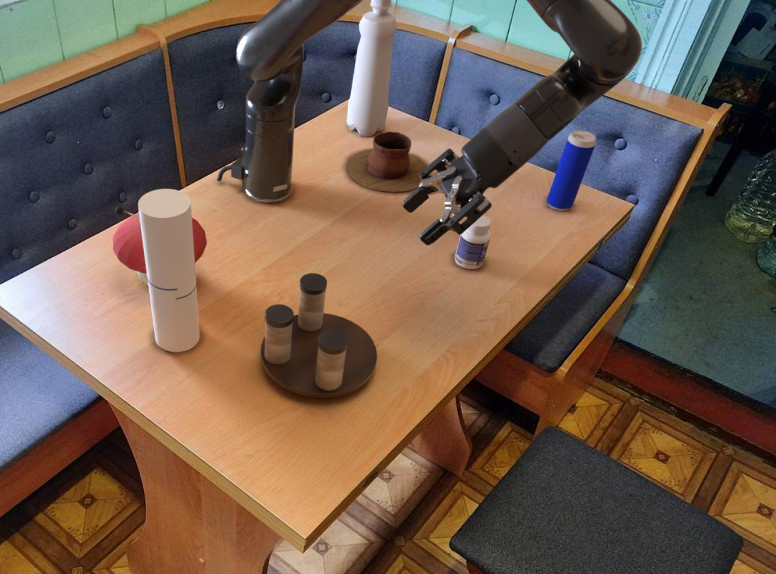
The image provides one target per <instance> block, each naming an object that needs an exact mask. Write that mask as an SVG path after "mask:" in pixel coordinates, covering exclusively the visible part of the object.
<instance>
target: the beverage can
mask: <svg viewBox="0 0 776 574" xmlns="http://www.w3.org/2000/svg"><path fill="white" fill-rule="evenodd" d="M596 144H597V136H596V135H595V134H594V133H592V132H590V131H587V130H582V129H576V130H574V131H571V133H570V134H569V135H568V137H567V139H566V142H565V145H564V148H563V151H562V153H561V157H560V160H559V162H558V165H557V168H556V171H555V174H554V176H553V179H552V183H551V186H550V189H549V191H548V195H547V197H546V202H547V204H548V206H549V207H550V208H551V209H553V210H555V211H559V212H564V211H568V210H570V209H571V208H572V207H573V206H574V203H575V201H576V198H577V195H578V193H579V190H580V187H581V186H582V185H581V184H582V182H583V179H584V176H585V174H586V171H587V168H588V166H589V163H590V160H591V158H592V155H593V152H594V150H595V147H596Z"/></svg>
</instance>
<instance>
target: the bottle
mask: <svg viewBox="0 0 776 574" xmlns="http://www.w3.org/2000/svg"><path fill="white" fill-rule="evenodd" d="M369 6H370V7H371V8H372V10H370V11H367V12H365V13H364V14H363V16H362V18H361V20H360V21H359V24H358V28H359V29H358V31H359V33H360V39H359V43H358V46H357V50H356V58H355V64H354V72H353V76H352V83H351V89H350V96H349V99H348V102H347V112H346V113H347V114H346V124H347V126H348V128H349V130H350V131H351V132H352V131H357V132H358V134H359V136H363V137H373V136H374V135H375V133H376V132H380V133H382V131H383V130H384V128H386V125H387V117H388V111H389V94H390V93H389V91H390V81H391V73H392V72H391V71H392V61H393V51H394V46H393V43H394V42H393V38H394V36H395V35H396V32H397V29H398V23H397V20H396V17H395V16H394V14H392V13H391V12H388V11H389V9H390V8H392V7H393V5H392V0H370V3H369Z"/></svg>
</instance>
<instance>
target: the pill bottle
mask: <svg viewBox="0 0 776 574" xmlns="http://www.w3.org/2000/svg"><path fill="white" fill-rule="evenodd" d="M491 225H492V220H491V218H489V216H487V215H485V214H484V215H482V216H481V217H480V218H479V219H478V220H477V221H476V222H475V223H474V224H472V225H471V226H470V227H469V228H468V229H467V230H466V231H465V232H464V233H462V234H461V235H459V239H458V244H457V247H456V252H455V254H454V262H455V263H456V265H458V266H459V267H461V268H464V269H467V270H476V269H479V268H481V267H482V266H483V265H484V262H485V259H486V255H487V251H488V249H489V246H490V245H489V244H490V241H491V238H492V237H491V236H492V234H491V233H492V232H491V231H490V228H491Z"/></svg>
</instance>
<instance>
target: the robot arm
mask: <svg viewBox="0 0 776 574" xmlns="http://www.w3.org/2000/svg"><path fill="white" fill-rule="evenodd" d="M363 1H364V0H279V1H278V2H277V3H276V4H275V5H274V7H272V8H271V9H270V10H269V11H268V12H266V13H265V14H264V15H263V16H262V17H260V18H259V19H258V20H257V21H255V22H254V23H252V24H251V25H250V26H249V27H247V28H246V29H245V30H244V31H243V32H242V33H241V34H240V37H239V38H238V41H237V44H236V49H235V58H236V59H235V60H236V64H237V67H238V69H239V71H240V72H241V74H242V75H243V76H245V77H246V78H247V79H248V80H251V81H253V82H254V83H253V84H252V86H251V87H250V89H249V90H248V92H247V93H246V95H245V145H243V146H242V147H241V156H240V157H238V159H235V161H234V162H232V163H231V164H228V165H226V166H224V167H222V168H221V169H220V170H219V172H218V173H217V178H216V181H217V182H220V183H221V182H222V180H223V176H224V174H225V173H226V172H228V171H230V177H231V178H234V179H237V180H239V181H241V192H244V193H245V194H246V195H247V197H248V198H250V199H251V200H253V201H255V202H257V203H258V202H259V203H264V204H275V203H280V202H283V201H285V200H287V199H288V198H289V197H291V195H292V191H293V187H292V184H293V183H292V177H293V164H294V163H293V160H294V141H295V139H294V137H295V136H294V135H295V120H296V119H295V117H296V104H297V102H298V100H299V97H300V94H301V88H302V79H303V67H304V57H305V55H304V54H305V47H304V45H305V43H306V42H307V41H308V40H310V39H311V38H313V37H314V36H316V35H318V34H319V33H321V32H322V31H324V30H325V29H326V28H328V27H330V26H331V25H334V23H336V22H338V21H339V20H341V19H342V18H343V17H344V16H346V15H347V14H349V13H350V12H351V11H353V10H354V9H355V8H356V7H357V6H359V4H361V2H363ZM526 2H527V3H528V4H529V5H530V6H531V8H532V9H533V11H534V12H535V13H536V14H537V15H538V17H539V18H540V19H541V20H542V22H543V23H544V24H545V25H546V26H547V27H548V28H549V29H550V30H551V31H553V32H554V33H557V34H558V35H559V36H560V37H561V39H562V40H563V41H564V42H565V45H567V46H568V48H569V49H570V50H571V52H572V53H573V55H571V56H570V57H569V58H568V59H567V60H566V61H565V62H564V63H562V65H561V66H559V67H558V68H557V69H556V70H555V71H554V72H553V73H551V74H548V75H545V76H544V77H543V78H542V79H540V80H539V81H537V82H536V83H535V84H534V85H533V86H532V87H531V88H529V89H528V90H527V91H526V92H525V93H524V94H523V95H521V96H520V97H519V98H518V99H517V100H515V102H514V103H512V104H511V105H510V106H508V107H507V108H506V109H504V110H503V111H501V112H500V113H499V114H498V115H496V116H495V117H494V118H493V119H492V120H491V121H490V122H489V123H488V124H487V125H485V126H484V127H483V128H481V130H480V131H478V132H477V133H476V134H475V135H474V136H473V137H472V138H471V139H470V140H469V141H467V142H466V143H465V144H464V145H463V146H462V147H461V149H460V150H461V151H460V152H461V154H462V155H461V156H460V157H459V156H458V155H457V153H456V152H454V150H453V149H452V148H447V149H446V150H445V151H443V153H441V154H439V156H438V157H436V158H435V159H434V160H433V161H432V162H430V164H428V165H426V166H427V167H426V168H425V169H424V170H422V171H421V172H420V174H419V177H420V178H421V182H420V183H419V187H418V188H415V190H413V191H412V192H411V193H410V194H409V195H407V197H406V198H405V199H403V201H402V203H401V206H402V208H403V209H404V210H405V211H406V212H407V213H409V214H412V213H414V212H415V211H416V210H418V208H419V207H420V206H422V205H423V204H424V203H426V201H428V199H430V196H433V195H437V194H443V195H444V197H445V201H444V209H443V211H442V214H441V216H440V218H437V219H436V220H434V221H433V222H432V223H431V224H429V225H428V226H427V227H426V228H425V229H424V230H423V231H421V232H420V233H419V235H418V238H419V240H420V241H421V242H422V243H423V244H424V245H425V246H431V245H433V244H434V243H436V242H437V241H439V239H441V237H443V236H444V235H445V234H447V232H449V231H452V232H454V233H455V234H456V235H458V236H460V235H461V234H462V233H464V232H465V231H466V230H467V229H468V228H469V227H470V226H471V225H472V224H474V223H475V222H476V221H477V220H478V219H479V218H480V217H481V216H482V215H485V214H486V213H487V212H489V210H490V209H491V208H492V206H493V205H492V202H491V201H490V200H489V199H488V198H487V197H486V196H485V195H484V193H485V192H486V191H487V190H488V189H489V188H492V189H498V187H500V186H501V185H502V184H503V183H505V182H506V181H507V180H508V179H510V177H512V176H514V174H515V173H516V172H517V171H518V170H520V169H521V168H523V166H525V165H526V164H527V163H528V162H529V161H530V160H531V159H533V158H534V157H536V155H537V154H538V153H539V152H540V151H541V150H542V149H543V148H544V146H545V145H547V144H548V143H549V142H550V141H551V140H552V139H553V138H554V137H556V136H557V135H558V134H560V132H562V131H563V130H564V129H565V128H567V127H568V126H569V125H570V124H571V123H572V122H573V121H574V120H575V119H576V118H577V117H578V116H579V115H580V113H582V111H584V110H585V109H587V108H588V107H589V106H591V105H592V104H593V103H595V102H596V101H597V100H599V99H600V98H602V97H603V96H604V95H606V94H607V93H608V92H610V91H611V90H612V89H613V88H614V87H615V86H617V85H619V83H620V82H622V81H624V79H626V78H627V76H629V75H630V74H631V72H632V71H633V69H634V68H635V67H636V65H637V63H638V62H639V60H640V57H641V54H642V50H643V42H642V41H643V40H642V37H641V34H640V32H639V30H638V29H637V27H636V25H635V24H634V23H633V22H632V21H631V20H630V18H629V17H628V16H627V15H626V13H624V11H622V10H621V9H620V8H619V7H618V5H616V4H615V3H614V2H613V1H612V0H526ZM434 171H436V172H435V173H433V174H432V175H431V173H432V172H434ZM429 174H430V175H429ZM451 215H452V217H451ZM464 218H466V219H465V220H464V221H462V220H463V219H464ZM461 221H462V222H461ZM460 222H461V223H460Z"/></svg>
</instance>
